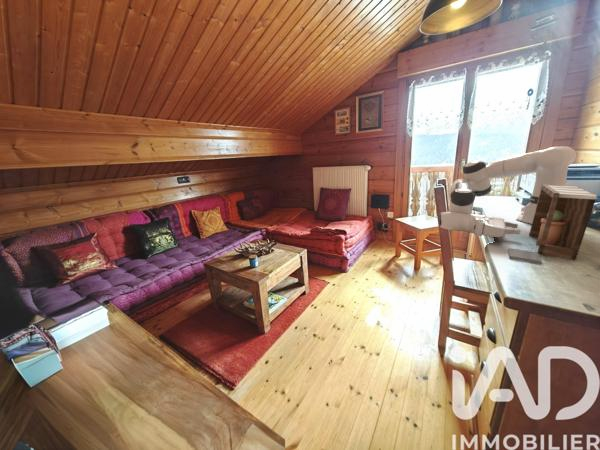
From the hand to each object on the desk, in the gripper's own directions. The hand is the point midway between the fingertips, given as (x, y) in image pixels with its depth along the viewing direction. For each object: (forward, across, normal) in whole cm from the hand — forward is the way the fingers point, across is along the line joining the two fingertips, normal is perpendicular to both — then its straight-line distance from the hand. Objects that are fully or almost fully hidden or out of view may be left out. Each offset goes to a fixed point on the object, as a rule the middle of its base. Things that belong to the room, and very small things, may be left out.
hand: (518, 228), depth 101 cm
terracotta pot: (+10, 0, -6) cm, 11 cm away
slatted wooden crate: (+10, 0, -6) cm, 11 cm away
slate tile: (+1, +18, -6) cm, 19 cm away
